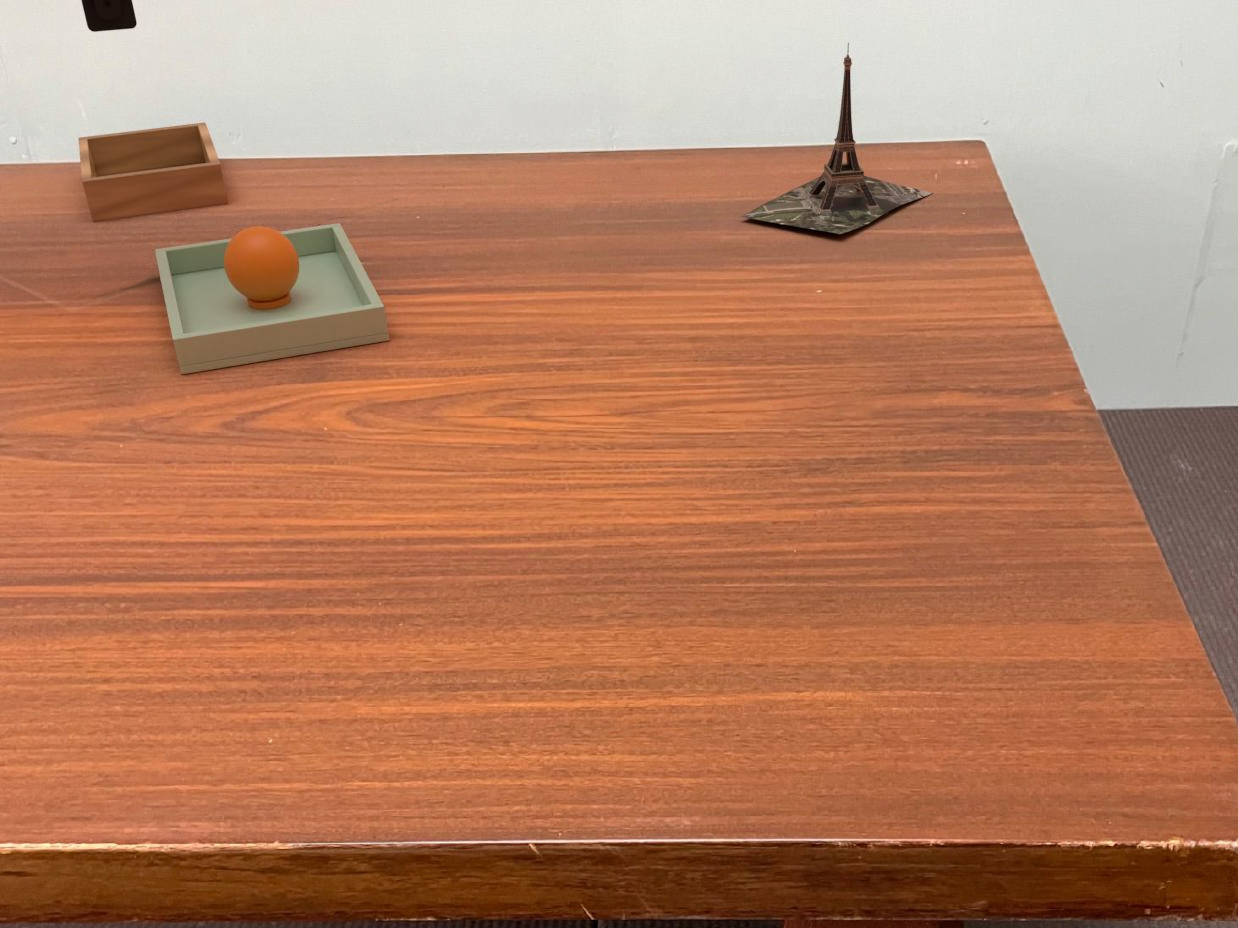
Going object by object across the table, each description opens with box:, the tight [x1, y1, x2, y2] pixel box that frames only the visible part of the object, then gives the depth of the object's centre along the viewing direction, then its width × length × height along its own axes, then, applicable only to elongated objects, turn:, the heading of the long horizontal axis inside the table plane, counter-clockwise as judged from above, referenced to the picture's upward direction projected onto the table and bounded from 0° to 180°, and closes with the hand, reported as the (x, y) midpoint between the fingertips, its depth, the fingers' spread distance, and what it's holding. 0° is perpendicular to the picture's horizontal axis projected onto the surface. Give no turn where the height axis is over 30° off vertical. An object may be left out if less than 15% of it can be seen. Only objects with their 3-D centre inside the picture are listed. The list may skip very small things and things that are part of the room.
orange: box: [224, 225, 299, 309], centre depth 109 cm, size 5×5×6 cm
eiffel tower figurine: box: [740, 42, 933, 235], centre depth 122 cm, size 15×10×13 cm
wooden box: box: [77, 122, 229, 223], centre depth 133 cm, size 15×12×4 cm
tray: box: [154, 222, 390, 375], centre depth 110 cm, size 20×15×3 cm
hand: (111, 14), depth 103 cm, fingers open, 9 cm apart
